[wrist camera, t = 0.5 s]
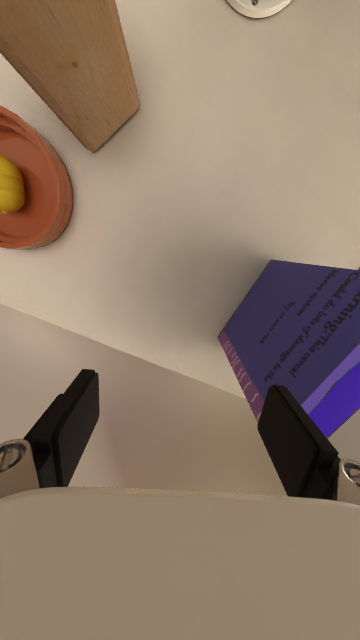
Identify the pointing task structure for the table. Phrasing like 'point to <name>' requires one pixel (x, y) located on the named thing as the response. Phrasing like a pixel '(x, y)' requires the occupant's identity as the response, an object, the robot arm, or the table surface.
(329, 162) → the table surface
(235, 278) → the table surface
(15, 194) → the lemon
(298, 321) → the purple book
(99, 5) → the wooden block
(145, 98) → the table surface
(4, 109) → the fruit bowl
